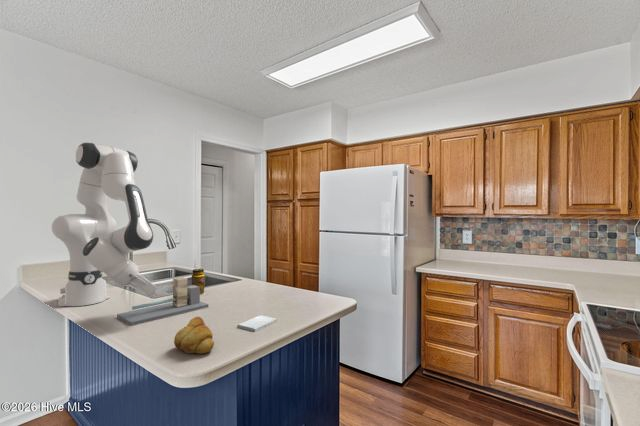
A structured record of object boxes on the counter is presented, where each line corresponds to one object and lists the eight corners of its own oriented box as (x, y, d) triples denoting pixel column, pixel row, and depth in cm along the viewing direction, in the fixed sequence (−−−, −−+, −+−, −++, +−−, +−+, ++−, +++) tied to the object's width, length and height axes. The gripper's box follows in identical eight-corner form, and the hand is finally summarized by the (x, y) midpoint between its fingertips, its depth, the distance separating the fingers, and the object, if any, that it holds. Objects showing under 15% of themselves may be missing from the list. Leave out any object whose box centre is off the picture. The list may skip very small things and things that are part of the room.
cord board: (116, 317, 120) (117, 295, 120) (191, 301, 143) (192, 282, 143) (130, 325, 111) (131, 302, 111) (208, 307, 134) (208, 287, 134)
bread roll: (221, 350, 92) (221, 323, 92) (188, 362, 85) (189, 332, 85) (200, 338, 100) (200, 313, 100) (168, 348, 93) (169, 321, 93)
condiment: (206, 294, 155) (206, 269, 155) (188, 296, 151) (188, 271, 151) (203, 291, 162) (203, 267, 162) (185, 293, 157) (185, 269, 157)
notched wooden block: (172, 304, 131) (172, 278, 131) (182, 302, 135) (182, 276, 135) (177, 307, 129) (177, 279, 129) (187, 304, 132) (187, 278, 132)
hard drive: (255, 328, 107) (277, 318, 118) (237, 324, 111) (259, 314, 121) (255, 333, 107) (277, 322, 118) (236, 329, 111) (259, 318, 121)
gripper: (143, 270, 111) (170, 292, 119) (122, 263, 124) (148, 284, 132) (129, 284, 108) (158, 307, 115) (109, 276, 121) (136, 296, 128)
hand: (152, 294), depth 124 cm, fingers closed
